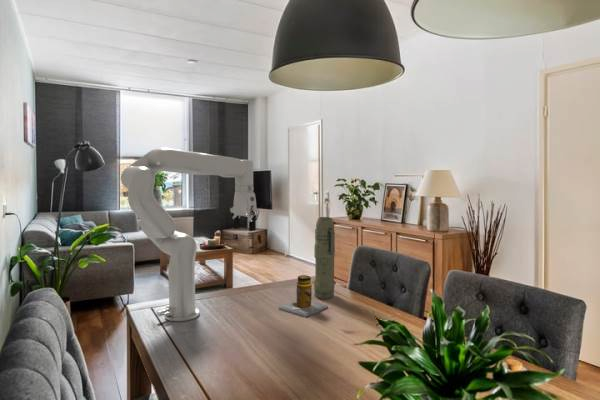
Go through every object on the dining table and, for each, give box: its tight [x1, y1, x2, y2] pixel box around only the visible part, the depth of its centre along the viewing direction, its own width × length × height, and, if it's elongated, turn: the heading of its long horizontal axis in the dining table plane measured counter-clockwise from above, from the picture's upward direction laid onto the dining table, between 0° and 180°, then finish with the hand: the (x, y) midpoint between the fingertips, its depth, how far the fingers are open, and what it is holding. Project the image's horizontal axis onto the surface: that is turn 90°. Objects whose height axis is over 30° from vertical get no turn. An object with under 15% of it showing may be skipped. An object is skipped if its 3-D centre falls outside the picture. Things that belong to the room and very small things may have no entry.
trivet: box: [278, 299, 329, 318], centre depth 154 cm, size 14×14×1 cm
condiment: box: [289, 274, 314, 309], centre depth 154 cm, size 7×8×12 cm
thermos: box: [313, 216, 336, 300], centre depth 169 cm, size 9×12×35 cm
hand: (244, 229), depth 163 cm, fingers open, 9 cm apart
